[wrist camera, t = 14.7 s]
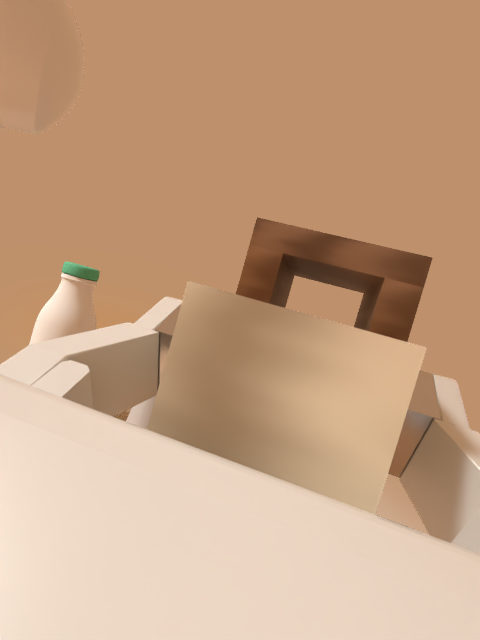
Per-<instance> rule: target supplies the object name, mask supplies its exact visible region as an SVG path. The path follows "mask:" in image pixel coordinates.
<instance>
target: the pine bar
mask: <svg viewBox="0 0 480 640" xmlns="http://www.w3.org/2000/svg"><path fill="white" fill-rule="evenodd" d="M425 351H426V347H423V346H419V345H416V344H412V343H409V342H405V341H401V340H398V339H394V338H391V337H387V336H383V335H380V334H376V333H373V332H369V331H366V330H362V329H358V328H355V327H351V326H348V325H344V324H340V323H336V322H333V321H330V320H326V319H323V318H319V317H315V316H312V315H308V314H304V313H301V312H297V311H294V310H290V309H287V308H283V307H280V306H276V305H272V304H269V303H265V302H262V301H258V300H255V299H251V298H247V297H244V296H240V295H237V294H233V293H229V292H226V291H222V290H219V289H215V288H211V287H207V286H204V285H201V284H197V283H194V282H190V281H188V282H187V286H186V290H185V293H184V297H183V301H182V304H181V308H180V311H179V315H178V319H177V322H176V326H175V329H174V333H173V337H172V340H171V344H170V348H169V351H168V355H167V358H166V362H165V366H164V369H163V373H162V377H161V380H160V384H159V387H158V391H157V395H156V398H155V402H154V406H153V409H152V413H151V416H150V420H149V424H148V427H147V430H150V431H153V432H155V433H158V434H161V435H164V436H166V437H169V438H172V439H174V440H177V441H180V442H182V443H185V444H188V445H190V446H193V447H196V448H198V449H201V450H204V451H206V452H209V453H212V454H214V455H217V456H220V457H222V458H225V459H228V460H231V461H233V462H236V463H239V464H241V465H244V466H247V467H249V468H252V469H255V470H257V471H260V472H263V473H265V474H268V475H271V476H273V477H276V478H279V479H281V480H284V481H287V482H289V483H292V484H295V485H298V486H300V487H303V488H306V489H308V490H311V491H314V492H316V493H319V494H321V495H324V496H327V497H329V498H332V499H335V500H337V501H340V502H343V503H345V504H348V505H351V506H353V507H356V508H359V509H361V510H364V511H367V512H369V513H372V514H375V515H376V511H377V508H378V505H379V501H380V498H381V495H382V492H383V488H384V485H385V481H386V479H387V475H388V472H389V469H390V466H391V462H392V459H393V456H394V453H395V449H396V446H397V443H398V440H399V436H400V433H401V430H402V427H403V423H404V420H405V417H406V413H407V410H408V407H409V404H410V400H411V397H412V394H413V391H414V387H415V384H416V381H417V378H418V374H419V371H420V368H421V364H422V361H423V358H424V354H425Z"/></svg>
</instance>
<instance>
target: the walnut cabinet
mask: <svg viewBox="0 0 480 640" xmlns="http://www.w3.org/2000/svg"><path fill="white" fill-rule="evenodd" d="M431 261H432V258H431V257H427V256H422V255H418V254H413V253H409V252H405V251H400V250H396V249H392V248H387V247H383V246H379V245H374V244H370V243H366V242H361V241H357V240H352V239H348V238H343V237H340V236H335V235H331V234H327V233H322V232H318V231H313V230H309V229H305V228H300V227H296V226H292V225H287V224H283V223H279V222H274V221H270V220H265V219H261V218H257V220H256V224H255V227H254V231H253V234H252V238H251V242H250V245H249V249H248V252H247V256H246V260H245V263H244V267H243V271H242V274H241V278H240V281H239V285H238V288H237V292H236V294H237V295H240V296H244V297H247V298H251V299H255V300H258V301H262V302H265V303H269V304H272V305H276V306H280V307H283V308H285V306H286V303H287V299H288V296H289V292H290V289H291V285H292V281H293V278H294V275H296V276H300V277H303V278H307V279H311V280H315V281H319V282H323V283H327V284H331V285H335V286H339V287H342V288H346V289H350V290H354V291H358V292H362V293H364V295H363V298H362V302H361V305H360V308H359V312H358V315H357V319H356V322H355V325H354V327H355V328H358V329H362V330H366V331H369V332H373V333H376V334H380V335H383V336H387V337H391V338H394V339H398V340H401V341H405V342H407V341H408V338H409V334H410V331H411V328H412V324H413V321H414V318H415V314H416V311H417V308H418V304H419V301H420V298H421V294H422V291H423V288H424V284H425V281H426V278H427V274H428V271H429V268H430V264H431Z"/></svg>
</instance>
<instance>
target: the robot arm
mask: <svg viewBox="0 0 480 640" xmlns="http://www.w3.org/2000/svg"><path fill="white" fill-rule="evenodd" d="M83 77H84V51H83V44H82V40H81V35H80V31H79V28H78V25H77V22H76V20H75V17H74V15H73V12H72V10H71V8H70V6H69V5H68V2H67V0H0V127H1V128H6V129H11V130H16V131H21V132H27V133H32V134H39V133H42V132H44V131H46V130H48V129H50V128H52V127H54V126H55V125H56V124H58V123H59V122H60V121H61V120H62V119H64V118H65V117H66V116H67V114H68V113H69V112H70V111H71V109H72V108H73V106H74V104H75V103H76V100H77V98H78V96H79V93H80V90H81V86H82V82H83ZM182 301H183V300H179V299H175V298H172V297H164V298H163V299H162V300H161V301H159V302H158V303H157V304H156V305H155V306H154V307H153V308H151V309H150V310H149V311H148V312H147V313H146V314H144V315H143V316H142V317H141V318H140V319H139V320H137V321H136V322H135V323H134V324H132V323H129V322H128V323H123V324H119V325H114V326H110V327H106V328H101V329H96V330H92V331H87V332H83V333H78V334H74V335H69V336H65V337H61V338H56V339H52V340H47V341H43V342H38V343H34V344H30V345H29V346H27V347H26V348H24V349H23V350H21V351H20V352H18V353H17V354H16V355H14V356H12V357H11V358H9V359H8V360H7V361H5V362H3V363H2V364H0V640H480V434H479V433H478V432H476V431H473V430H470V427H469V423H468V419H467V416H466V412H465V409H464V405H463V402H462V398H461V394H460V390H459V387H458V383H457V382H456V381H455V380H454V379H451V378H447V377H443V376H439V375H435V374H431V373H427V372H423V371H419V374H418V378H417V381H416V384H415V387H414V391H413V394H412V397H411V400H410V404H409V407H408V410H407V413H406V417H405V420H404V423H403V427H402V430H401V433H400V436H399V440H398V443H397V446H396V449H395V453H394V456H393V459H392V462H391V466H390V469H389V472H388V474H391V475H393V476H396V477H398V478H400V482H401V484H402V486H403V487H404V489H405V491H406V493H407V494H408V496H409V498H410V500H411V502H412V504H413V506H414V507H415V509H416V511H417V513H418V515H419V516H420V518H421V520H422V522H423V524H424V525H425V527H426V529H427V531H428V533H429V535H428V534H425V533H423V532H420V531H417V530H415V529H412V528H409V527H407V526H404V525H401V524H399V523H396V522H393V521H391V520H388V519H385V518H382V517H380V516H377V515H375V514H372V513H369V512H367V511H364V510H361V509H359V508H356V507H353V506H351V505H348V504H345V503H343V502H340V501H337V500H335V499H332V498H329V497H327V496H324V495H321V494H319V493H316V492H314V491H311V490H308V489H306V488H303V487H300V486H298V485H295V484H292V483H289V482H287V481H284V480H281V479H279V478H276V477H273V476H271V475H268V474H265V473H263V472H260V471H257V470H255V469H252V468H249V467H247V466H244V465H241V464H239V463H236V462H233V461H231V460H228V459H225V458H222V457H220V456H217V455H214V454H212V453H209V452H206V451H204V450H201V449H198V448H196V447H193V446H190V445H188V444H185V443H182V442H180V441H177V440H174V439H172V438H169V437H166V436H164V435H161V434H158V433H155V432H153V431H150V430H147V429H145V428H142V427H139V426H137V425H134V424H132V423H129V422H126V421H124V420H121V419H118V418H116V417H114V416H116V415H118V414H120V413H122V412H124V411H126V410H128V409H130V408H132V407H134V406H136V405H138V404H140V403H142V402H144V401H146V400H148V399H150V398H152V397H154V396H156V395H157V391H158V387H159V384H160V380H161V377H162V373H163V369H164V366H165V362H166V358H167V355H168V351H169V348H170V344H171V340H172V337H173V333H174V329H175V326H176V322H177V319H178V315H179V311H180V308H181V304H182Z"/></svg>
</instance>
